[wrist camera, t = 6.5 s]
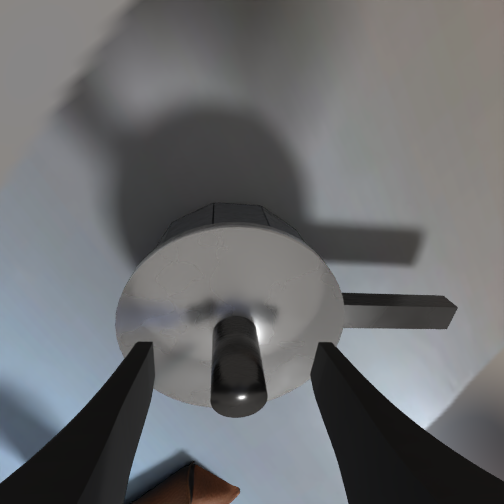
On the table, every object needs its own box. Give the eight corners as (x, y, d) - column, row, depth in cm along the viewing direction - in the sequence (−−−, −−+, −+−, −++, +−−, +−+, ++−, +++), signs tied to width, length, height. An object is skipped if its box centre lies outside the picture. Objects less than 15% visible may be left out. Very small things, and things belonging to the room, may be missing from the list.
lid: (121, 392, 16) (90, 482, 12) (119, 203, 12) (67, 252, 8) (306, 398, 18) (331, 477, 14) (369, 239, 13) (431, 291, 10)
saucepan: (154, 338, 20) (140, 388, 16) (146, 197, 15) (124, 223, 12) (392, 339, 22) (425, 382, 19) (442, 218, 18) (498, 245, 14)
